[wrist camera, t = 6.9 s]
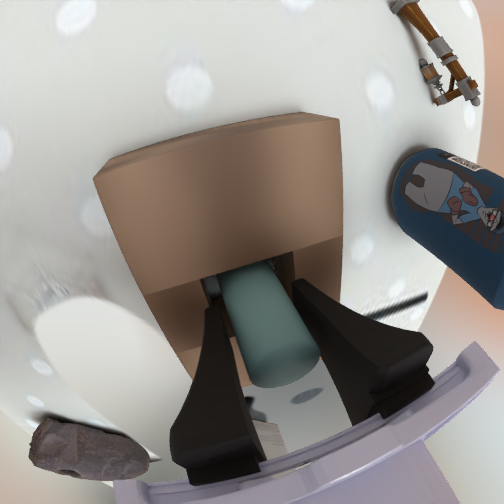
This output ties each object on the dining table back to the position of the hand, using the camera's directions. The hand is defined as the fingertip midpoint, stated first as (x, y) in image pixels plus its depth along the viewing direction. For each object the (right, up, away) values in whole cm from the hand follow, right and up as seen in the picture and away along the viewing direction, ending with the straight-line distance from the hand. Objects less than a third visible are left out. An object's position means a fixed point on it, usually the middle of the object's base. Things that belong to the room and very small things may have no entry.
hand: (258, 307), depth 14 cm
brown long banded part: (+11, +16, -1) cm, 20 cm away
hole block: (-1, +2, +3) cm, 4 cm away
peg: (-1, +2, +3) cm, 4 cm away
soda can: (+12, +8, +5) cm, 15 cm away
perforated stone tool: (-19, -18, +10) cm, 28 cm away
